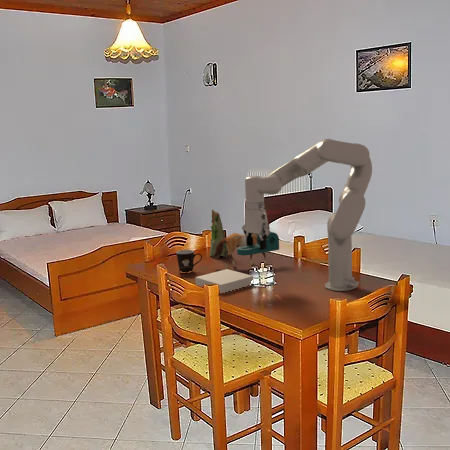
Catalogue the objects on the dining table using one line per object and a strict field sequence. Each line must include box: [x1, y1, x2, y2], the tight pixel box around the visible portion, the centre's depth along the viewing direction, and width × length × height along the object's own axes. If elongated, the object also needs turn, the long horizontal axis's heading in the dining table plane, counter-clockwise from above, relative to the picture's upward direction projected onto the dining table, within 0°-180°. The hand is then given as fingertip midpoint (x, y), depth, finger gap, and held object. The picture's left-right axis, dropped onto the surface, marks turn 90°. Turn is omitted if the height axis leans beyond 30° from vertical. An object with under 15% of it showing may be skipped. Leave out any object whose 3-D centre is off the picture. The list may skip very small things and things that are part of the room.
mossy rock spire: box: [209, 209, 229, 258], centre depth 298 cm, size 11×12×25 cm
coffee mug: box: [175, 249, 203, 272], centre depth 270 cm, size 12×9×10 cm
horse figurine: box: [210, 222, 271, 270], centre depth 274 cm, size 31×8×21 cm, turn 105°
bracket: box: [236, 231, 280, 256], centre depth 233 cm, size 18×7×8 cm, turn 119°
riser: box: [194, 268, 254, 294], centre depth 244 cm, size 18×18×4 cm
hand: (256, 247), depth 234 cm, fingers closed on bracket, 7 cm apart
